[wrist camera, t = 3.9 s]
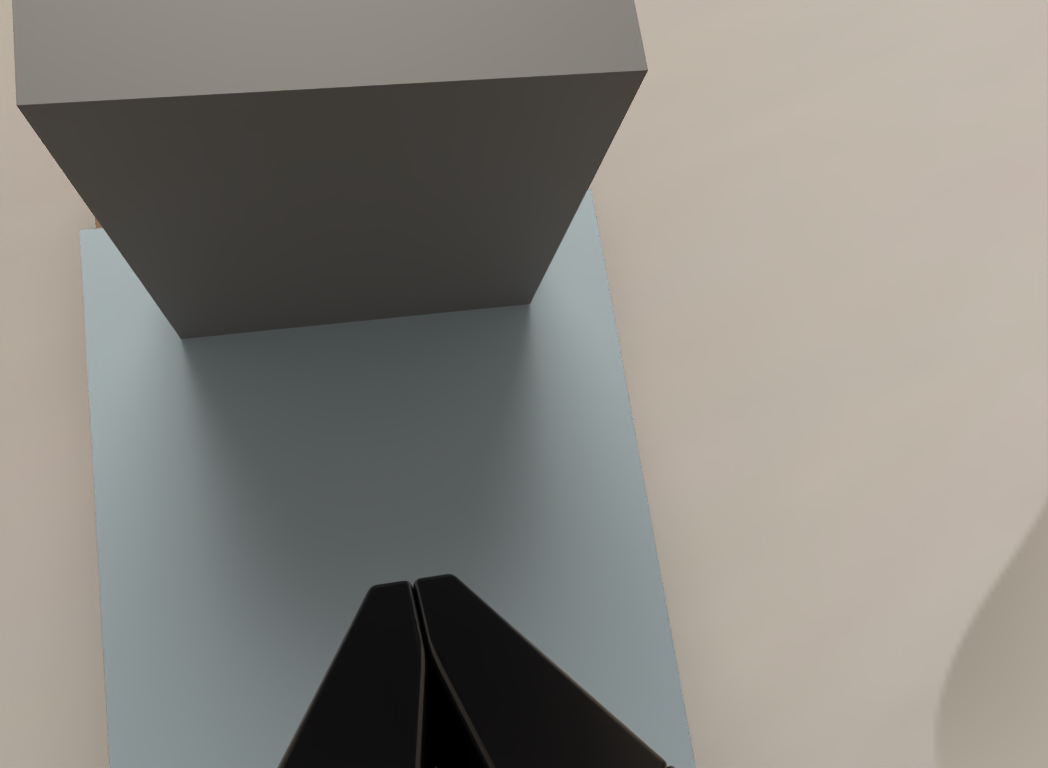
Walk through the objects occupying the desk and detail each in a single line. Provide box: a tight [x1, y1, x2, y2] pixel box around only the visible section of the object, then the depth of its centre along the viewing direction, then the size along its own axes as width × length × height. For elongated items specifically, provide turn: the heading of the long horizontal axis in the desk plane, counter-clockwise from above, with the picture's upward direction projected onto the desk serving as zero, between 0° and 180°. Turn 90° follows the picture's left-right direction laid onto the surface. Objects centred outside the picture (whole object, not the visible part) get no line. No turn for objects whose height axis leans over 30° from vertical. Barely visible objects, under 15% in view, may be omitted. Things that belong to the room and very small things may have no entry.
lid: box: [12, 0, 695, 768], centre depth 12 cm, size 11×9×8 cm
